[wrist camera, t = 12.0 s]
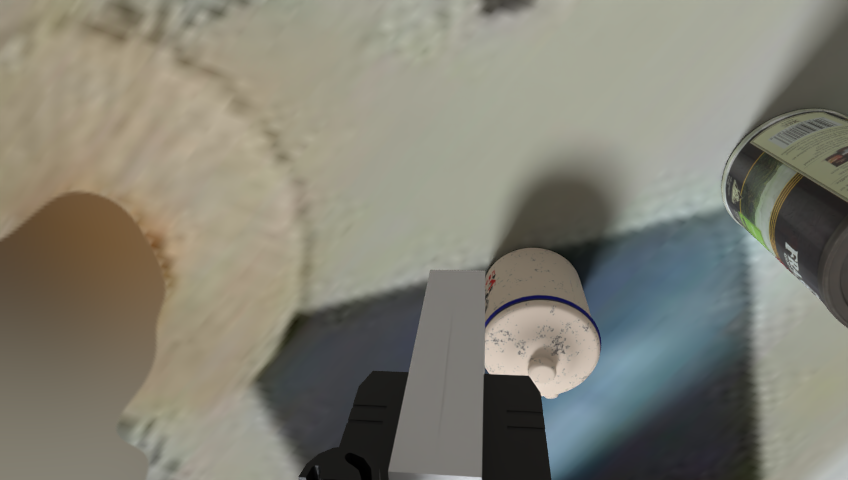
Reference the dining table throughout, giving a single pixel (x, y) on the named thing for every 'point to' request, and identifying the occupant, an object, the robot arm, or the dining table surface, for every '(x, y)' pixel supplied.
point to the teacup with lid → (539, 321)
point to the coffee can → (797, 198)
